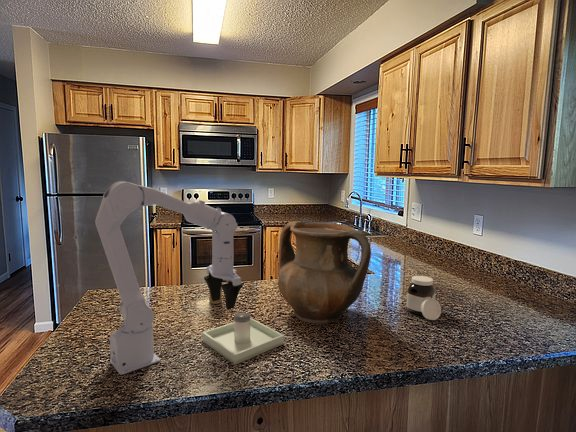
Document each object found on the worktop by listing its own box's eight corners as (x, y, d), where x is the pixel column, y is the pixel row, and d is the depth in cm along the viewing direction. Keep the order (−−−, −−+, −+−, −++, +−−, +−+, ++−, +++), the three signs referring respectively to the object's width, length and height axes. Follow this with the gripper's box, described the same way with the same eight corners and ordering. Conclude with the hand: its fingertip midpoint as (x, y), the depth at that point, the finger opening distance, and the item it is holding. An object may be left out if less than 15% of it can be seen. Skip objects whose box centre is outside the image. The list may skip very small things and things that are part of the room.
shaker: (241, 345, 95) (241, 320, 94) (230, 340, 98) (230, 315, 97) (253, 339, 98) (253, 315, 97) (243, 334, 101) (243, 311, 100)
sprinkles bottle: (210, 299, 129) (209, 263, 128) (222, 299, 130) (222, 263, 128) (208, 304, 125) (208, 267, 123) (221, 304, 125) (221, 267, 124)
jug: (257, 322, 111) (257, 227, 107) (288, 293, 137) (289, 216, 133) (362, 340, 100) (367, 236, 96) (374, 305, 126) (378, 222, 122)
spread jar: (416, 304, 128) (418, 273, 127) (448, 313, 120) (450, 280, 119) (399, 313, 120) (401, 280, 118) (432, 324, 112) (435, 288, 110)
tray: (235, 364, 87) (234, 355, 86) (202, 340, 99) (202, 332, 98) (283, 344, 98) (284, 335, 97) (249, 324, 109) (249, 317, 109)
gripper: (250, 259, 94) (250, 308, 96) (221, 249, 105) (221, 294, 106) (227, 263, 89) (227, 315, 91) (199, 252, 100) (200, 299, 102)
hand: (222, 304), depth 98 cm, fingers open, 7 cm apart
